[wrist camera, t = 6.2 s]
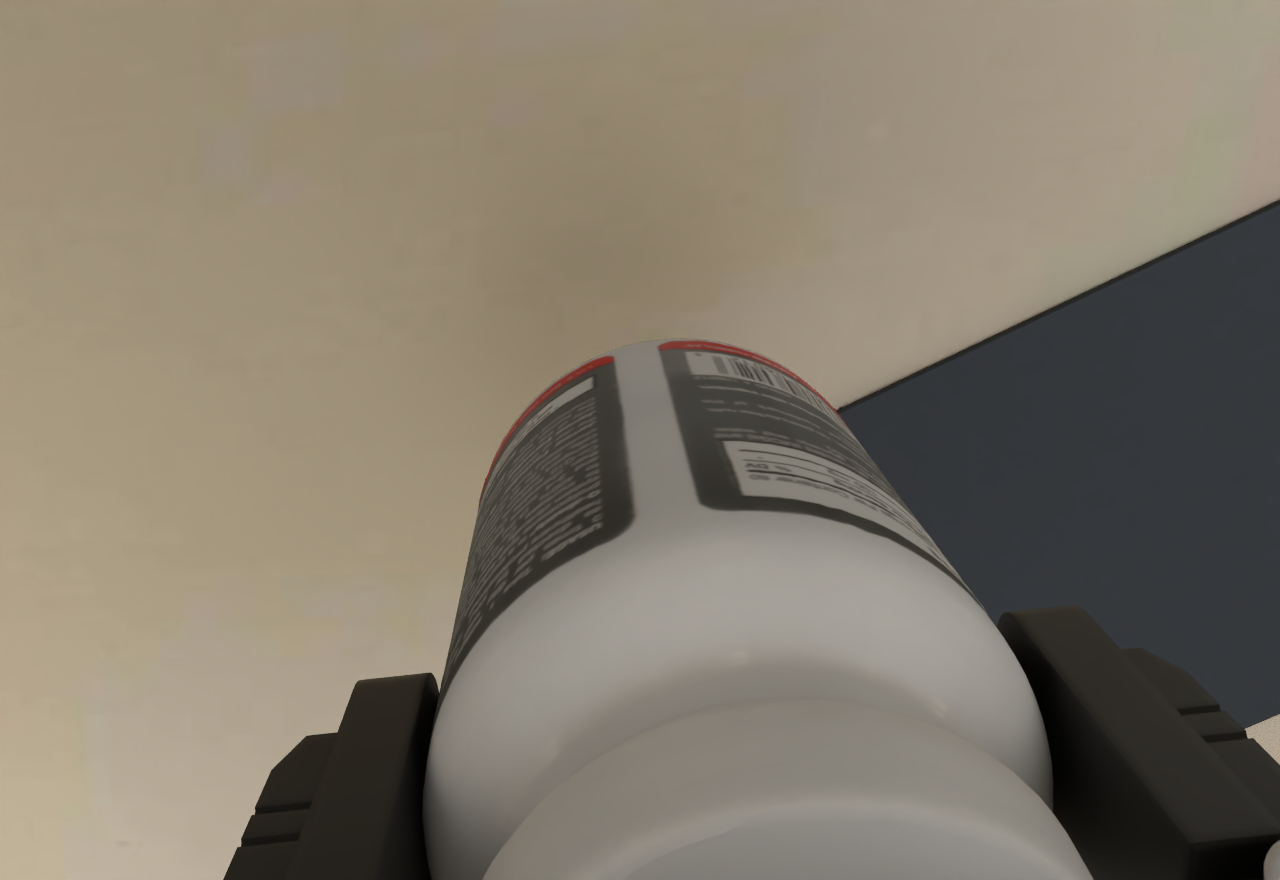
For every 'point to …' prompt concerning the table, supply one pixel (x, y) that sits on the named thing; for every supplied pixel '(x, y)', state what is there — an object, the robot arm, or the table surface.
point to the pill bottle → (722, 653)
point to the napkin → (1117, 461)
